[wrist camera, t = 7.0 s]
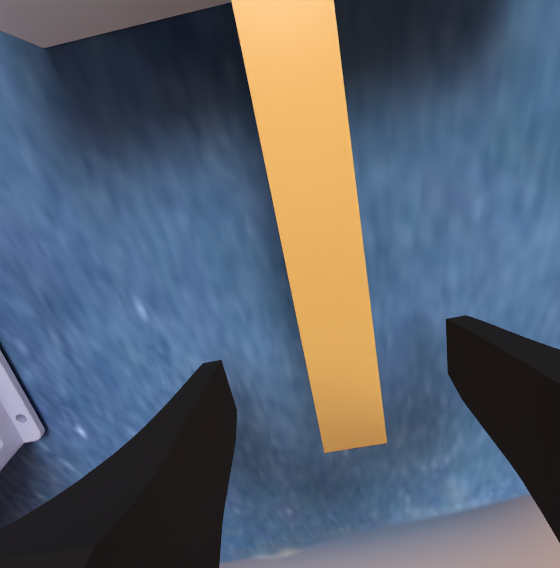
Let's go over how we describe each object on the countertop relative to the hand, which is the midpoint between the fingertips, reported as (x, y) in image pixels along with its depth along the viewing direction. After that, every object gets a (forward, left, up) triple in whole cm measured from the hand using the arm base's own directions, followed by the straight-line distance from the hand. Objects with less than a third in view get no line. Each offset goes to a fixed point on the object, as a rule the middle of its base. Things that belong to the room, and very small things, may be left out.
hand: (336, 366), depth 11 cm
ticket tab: (+4, 0, -4) cm, 6 cm away
